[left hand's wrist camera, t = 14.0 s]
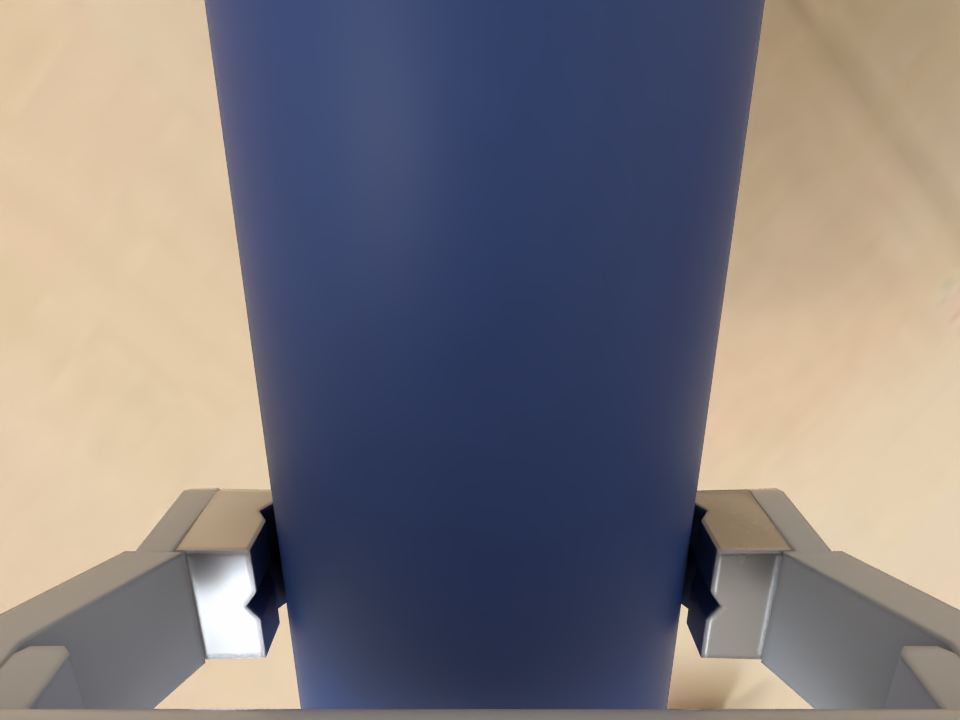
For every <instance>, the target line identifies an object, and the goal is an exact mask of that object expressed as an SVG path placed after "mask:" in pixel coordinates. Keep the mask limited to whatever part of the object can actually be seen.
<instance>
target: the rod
mask: <svg viewBox="0 0 960 720" xmlns="http://www.w3.org/2000/svg"><path fill="white" fill-rule="evenodd" d="M764 2H765V0H205V6H206V14H207V21H208V28H209V36H210V43H211V51H212V58H213V65H214V73H215V80H216V87H217V95H218V102H219V109H220V117H221V124H222V131H223V139H224V146H225V153H226V161H227V168H228V176H229V183H230V190H231V198H232V205H233V212H234V220H235V227H236V234H237V242H238V249H239V256H240V264H241V271H242V278H243V286H244V293H245V301H246V308H247V315H248V323H249V330H250V337H251V345H252V352H253V359H254V367H255V374H256V381H257V389H258V396H259V404H260V411H261V418H262V426H263V433H264V440H265V448H266V455H267V462H268V470H269V477H270V484H271V492H272V499H273V506H274V514H275V521H276V529H277V536H278V543H279V551H280V558H281V565H282V573H283V580H284V587H285V595H286V602H287V609H288V617H289V624H290V632H291V639H292V646H293V654H294V661H295V668H296V676H297V683H298V690H299V698H300V705H301V709H667V702H668V694H669V687H670V680H671V673H672V666H673V658H674V651H675V644H676V637H677V630H678V622H679V615H680V608H681V601H682V593H683V586H684V579H685V572H686V565H687V557H688V550H689V543H690V536H691V529H692V521H693V514H694V507H695V500H696V492H697V485H698V478H699V471H700V464H701V456H702V449H703V442H704V435H705V428H706V420H707V413H708V406H709V399H710V391H711V384H712V377H713V370H714V363H715V355H716V348H717V341H718V334H719V327H720V319H721V312H722V305H723V298H724V291H725V283H726V276H727V269H728V262H729V254H730V247H731V240H732V233H733V226H734V218H735V211H736V204H737V197H738V190H739V182H740V175H741V168H742V161H743V153H744V146H745V139H746V132H747V125H748V117H749V110H750V103H751V96H752V89H753V81H754V74H755V67H756V60H757V52H758V45H759V38H760V31H761V24H762V16H763V9H764Z"/></svg>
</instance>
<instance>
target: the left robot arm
mask: <svg viewBox="0 0 960 720" xmlns="http://www.w3.org/2000/svg"><path fill="white" fill-rule="evenodd" d="M285 603H286V595H285V587H284V580H283V573H282V565H281V558H280V551H279V543H278V536H277V529H276V521H275V514H274V506H273V499H272V492H271V490H251V489H222V490H221V489H189V490H185V491H183V492H182V493H181V495H180V496H179V497H178V498H177V500H176V501H175V502H174V503H173V505H172V506H171V507H170V508H169V510H168V511H167V512H166V514H165V515H164V516H163V517H162V519H161V520H160V521H159V522H158V524H157V525H156V526H155V527H154V529H153V530H152V531H151V532H150V534H149V535H148V536H147V537H146V539H145V540H144V541H143V542H142V544H141V545H140V546H139V548H138V549H137V550H136V551H125V552H123V553H121V554H119V555H117V556H115V557H113V558H111V559H109V560H107V561H105V562H103V563H101V564H99V565H97V566H95V567H93V568H91V569H89V570H87V571H85V572H83V573H81V574H79V575H77V576H75V577H73V578H71V579H69V580H67V581H65V582H63V583H61V584H59V585H57V586H55V587H53V588H51V589H50V590H48V591H46V592H44V593H42V594H40V595H38V596H36V597H34V598H32V599H30V600H28V601H26V602H24V603H22V604H20V605H18V606H16V607H14V608H12V609H10V610H8V611H6V612H4V613H2V614H0V720H960V610H958V609H956V608H954V607H952V606H950V605H948V604H946V603H944V602H942V601H940V600H938V599H936V598H934V597H932V596H930V595H928V594H926V593H924V592H922V591H920V590H918V589H916V588H914V587H912V586H910V585H908V584H906V583H904V582H902V581H900V580H898V579H896V578H894V577H892V576H890V575H888V574H886V573H884V572H882V571H880V570H878V569H876V568H874V567H872V566H870V565H868V564H866V563H864V562H862V561H860V560H858V559H856V558H854V557H852V556H850V555H848V554H847V553H845V552H843V551H831V550H830V549H829V547H828V546H827V545H826V544H825V542H824V541H823V540H822V539H821V537H820V536H819V535H818V534H817V533H816V531H815V530H814V529H813V528H812V526H811V525H810V524H809V523H808V521H807V520H806V519H805V518H804V517H803V515H802V514H801V513H800V512H799V510H798V509H797V508H796V507H795V505H794V504H793V503H792V502H791V501H790V499H789V498H788V497H787V496H786V494H785V493H784V492H783V491H781V490H779V489H777V488H769V489H744V490H706V491H697V492H696V500H695V507H694V514H693V521H692V529H691V536H690V543H689V550H688V557H687V565H686V572H685V579H684V586H683V593H682V601H681V604H683V605H684V606H685V607H687V608H688V617H687V625H688V627H689V630H690V632H691V634H692V637H693V639H694V642H695V644H696V646H697V649H698V651H699V654H700V656H701V658H734V659H762V661H761V662H762V663H763V664H764V665H765V666H766V667H768V668H769V669H770V670H771V671H772V672H773V673H774V674H776V675H777V676H778V677H779V678H780V679H781V680H782V681H783V682H785V683H786V684H787V685H788V686H789V687H790V688H791V689H793V690H794V691H795V692H796V693H797V694H798V695H799V696H801V697H802V698H803V699H804V700H805V701H806V702H807V703H809V704H810V705H811V706H812V707H813V708H814V709H153V708H154V707H156V706H157V705H158V704H159V703H160V702H161V701H162V700H164V699H165V698H166V697H167V696H168V695H169V694H170V693H171V692H173V691H174V690H175V689H176V688H177V687H178V686H179V685H180V684H182V683H183V682H184V681H185V680H186V679H187V678H188V677H190V676H191V675H192V674H193V673H194V672H195V671H196V670H197V669H199V668H200V667H201V666H202V665H203V664H204V663H205V659H232V658H266V656H267V653H268V651H269V648H270V646H271V643H272V641H273V638H274V636H275V633H276V631H277V628H278V626H279V623H280V622H279V614H278V608H279V607H281V606H282V605H283V604H285Z"/></svg>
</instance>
